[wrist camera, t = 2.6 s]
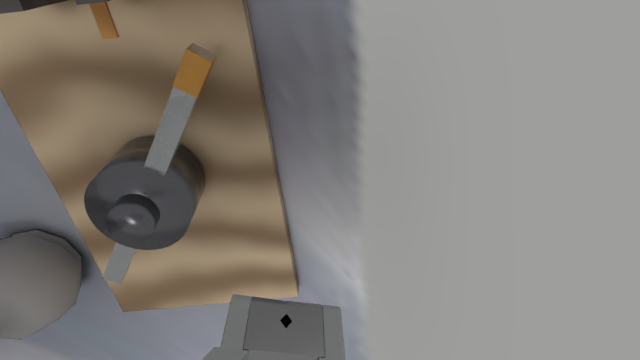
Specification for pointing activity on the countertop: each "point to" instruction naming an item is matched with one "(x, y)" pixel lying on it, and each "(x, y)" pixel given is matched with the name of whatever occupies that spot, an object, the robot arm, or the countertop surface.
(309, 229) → the countertop surface
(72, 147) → the stand
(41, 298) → the potion bottle
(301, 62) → the countertop surface
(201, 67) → the capstan
